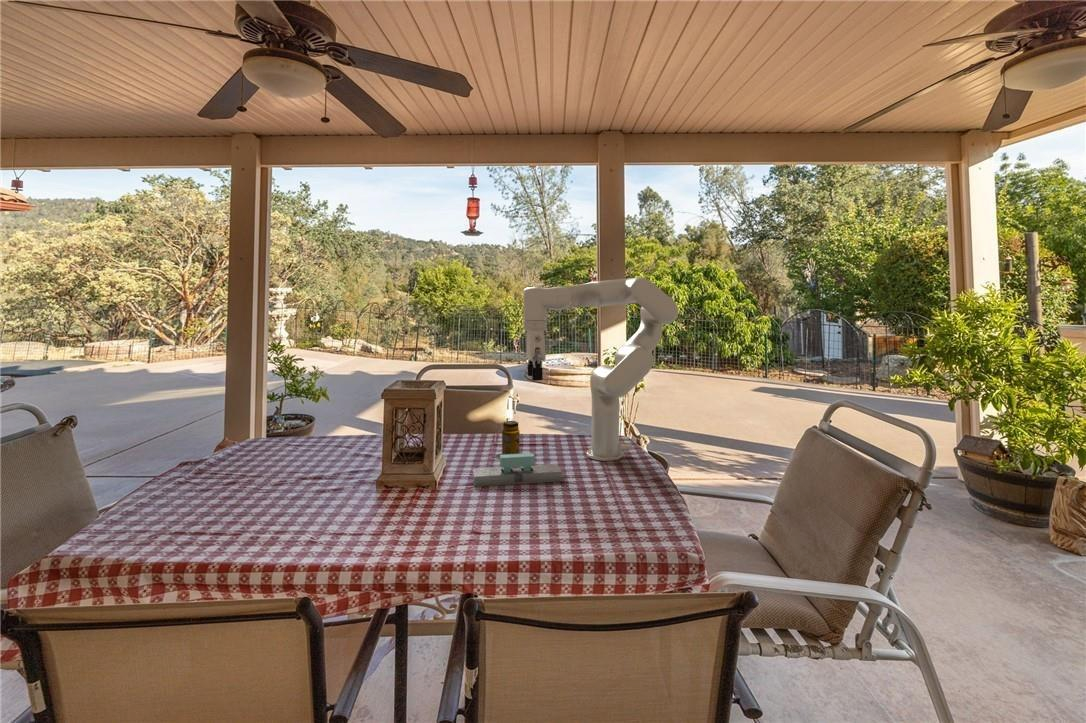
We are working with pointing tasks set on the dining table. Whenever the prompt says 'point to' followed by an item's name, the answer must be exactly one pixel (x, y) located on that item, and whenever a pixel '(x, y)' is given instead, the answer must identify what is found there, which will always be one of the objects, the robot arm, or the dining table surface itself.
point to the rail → (516, 475)
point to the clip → (516, 461)
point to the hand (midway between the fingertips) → (534, 377)
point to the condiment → (510, 438)
